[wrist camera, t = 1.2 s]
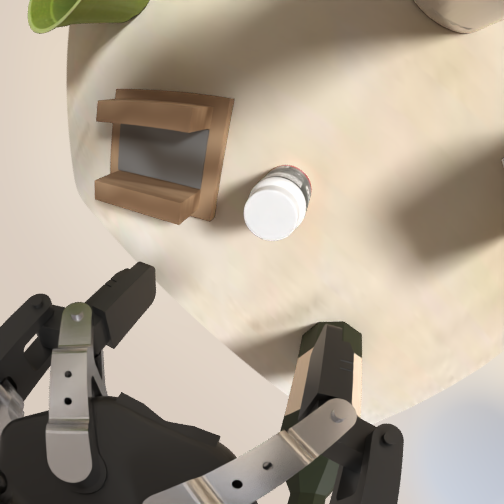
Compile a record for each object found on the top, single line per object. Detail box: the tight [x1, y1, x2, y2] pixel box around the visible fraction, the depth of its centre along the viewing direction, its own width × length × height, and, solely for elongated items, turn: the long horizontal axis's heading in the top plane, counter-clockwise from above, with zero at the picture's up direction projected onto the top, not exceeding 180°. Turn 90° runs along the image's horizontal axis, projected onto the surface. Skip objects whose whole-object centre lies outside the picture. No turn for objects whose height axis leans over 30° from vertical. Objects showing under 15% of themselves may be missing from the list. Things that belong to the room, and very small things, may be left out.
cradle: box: [95, 89, 234, 225], centre depth 27 cm, size 13×14×6 cm
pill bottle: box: [244, 165, 312, 241], centre depth 24 cm, size 5×5×8 cm
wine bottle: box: [280, 322, 362, 504], centre depth 23 cm, size 8×8×30 cm
